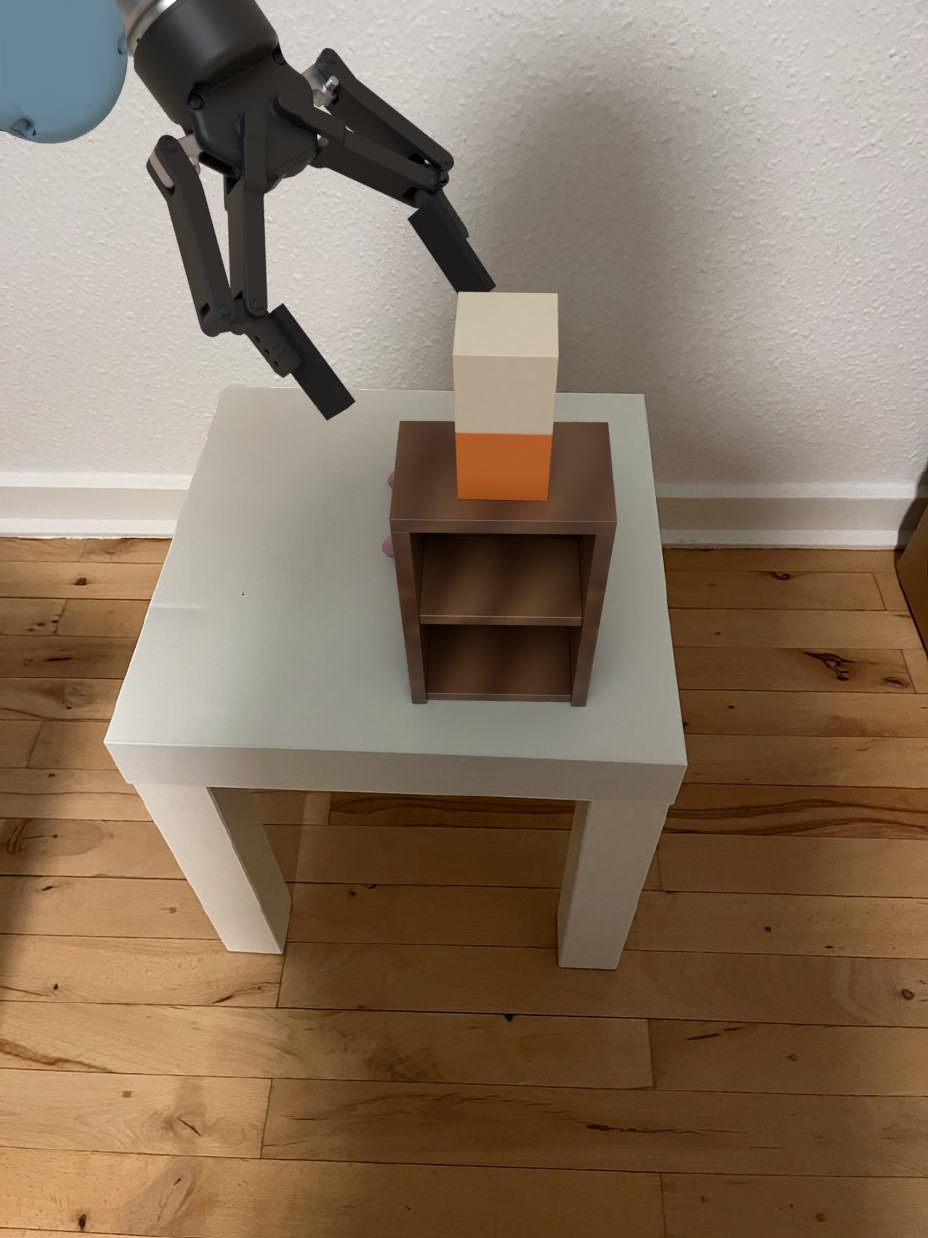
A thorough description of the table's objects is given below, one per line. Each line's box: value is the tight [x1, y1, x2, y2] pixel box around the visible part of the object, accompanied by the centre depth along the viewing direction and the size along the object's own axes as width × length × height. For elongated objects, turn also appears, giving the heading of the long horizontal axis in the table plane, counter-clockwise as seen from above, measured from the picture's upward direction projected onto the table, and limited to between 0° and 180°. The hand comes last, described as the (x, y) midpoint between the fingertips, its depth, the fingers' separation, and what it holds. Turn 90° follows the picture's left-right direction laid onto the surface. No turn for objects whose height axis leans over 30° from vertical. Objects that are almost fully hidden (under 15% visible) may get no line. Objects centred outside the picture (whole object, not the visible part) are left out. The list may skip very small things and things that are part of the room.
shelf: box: [388, 420, 618, 708], centre depth 68 cm, size 14×9×22 cm, turn 88°
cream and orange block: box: [452, 291, 559, 501], centre depth 55 cm, size 6×6×11 cm
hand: (415, 351), depth 56 cm, fingers open, 13 cm apart
